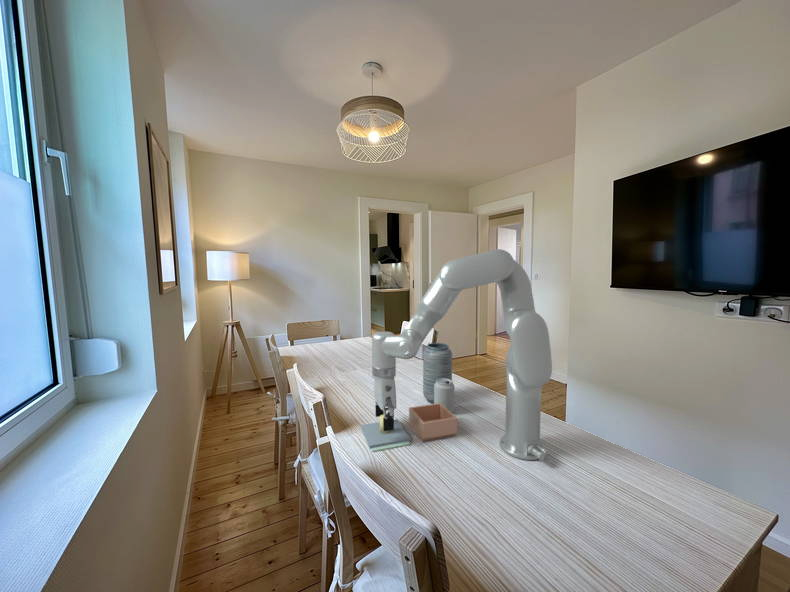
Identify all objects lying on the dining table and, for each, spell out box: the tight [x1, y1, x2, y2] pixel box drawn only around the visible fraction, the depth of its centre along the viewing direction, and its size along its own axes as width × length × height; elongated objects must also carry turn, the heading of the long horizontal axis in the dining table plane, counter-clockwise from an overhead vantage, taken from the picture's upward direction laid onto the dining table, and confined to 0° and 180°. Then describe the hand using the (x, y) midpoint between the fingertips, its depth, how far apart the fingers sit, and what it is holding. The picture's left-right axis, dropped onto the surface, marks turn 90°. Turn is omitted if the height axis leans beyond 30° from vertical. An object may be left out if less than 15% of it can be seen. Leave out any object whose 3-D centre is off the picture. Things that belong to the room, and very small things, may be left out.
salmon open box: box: [408, 403, 458, 443], centre depth 102 cm, size 12×12×6 cm
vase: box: [422, 342, 453, 404], centre depth 125 cm, size 12×12×23 cm
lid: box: [360, 414, 412, 449], centre depth 99 cm, size 13×13×6 cm
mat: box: [369, 422, 412, 453], centre depth 99 cm, size 16×12×1 cm
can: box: [434, 378, 455, 414], centre depth 115 cm, size 8×8×12 cm
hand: (384, 422), depth 99 cm, fingers open, 9 cm apart
